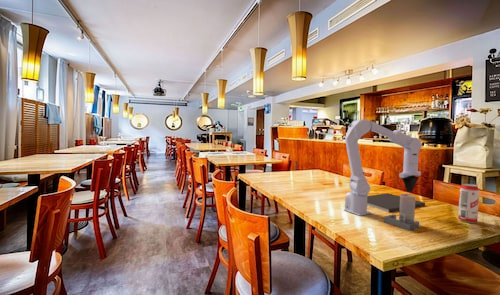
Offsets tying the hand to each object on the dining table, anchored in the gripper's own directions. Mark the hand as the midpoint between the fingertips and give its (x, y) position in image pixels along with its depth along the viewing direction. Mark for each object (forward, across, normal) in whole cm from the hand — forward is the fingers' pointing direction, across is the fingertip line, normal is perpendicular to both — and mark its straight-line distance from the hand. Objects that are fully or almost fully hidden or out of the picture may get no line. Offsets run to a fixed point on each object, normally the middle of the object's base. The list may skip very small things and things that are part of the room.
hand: (409, 191), depth 115 cm
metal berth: (+10, -18, -7) cm, 22 cm away
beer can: (+11, +12, -18) cm, 24 cm away
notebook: (+11, +8, +15) cm, 20 cm away
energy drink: (+11, -15, -7) cm, 20 cm away
